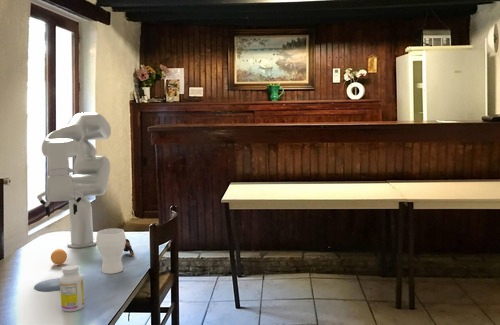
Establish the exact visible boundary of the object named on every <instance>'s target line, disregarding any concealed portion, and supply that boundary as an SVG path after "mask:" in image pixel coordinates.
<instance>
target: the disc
mask: <svg viewBox="0 0 500 325" xmlns="http://www.w3.org/2000/svg"><path fill="white" fill-rule="evenodd" d="M60 278H61V277H60ZM60 278H59V277H58V278H57V277H56V278H50V279H45V280H41V281H40V282H38V283H36V284H35V285H34V287H33V288H34V289H35V290H36V291H39V292H56V291H57V292H58V291H60Z"/></svg>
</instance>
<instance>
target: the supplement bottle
mask: <svg viewBox="0 0 500 325" xmlns="http://www.w3.org/2000/svg"><path fill="white" fill-rule="evenodd" d="M61 269H62V270H61V271H62V275H61V276H60V290H59V292H60V307H61V310H62V311H64V312H76V311H79V310H81V309H83V308H84V307H85V296H84V294H85V293H84V292H85V291H84V278H83V275H82V274H81V273H79V271H80V269H79V265H76V264H73V265H72V264H71V265H65V266H63V267H62V268H61Z"/></svg>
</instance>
